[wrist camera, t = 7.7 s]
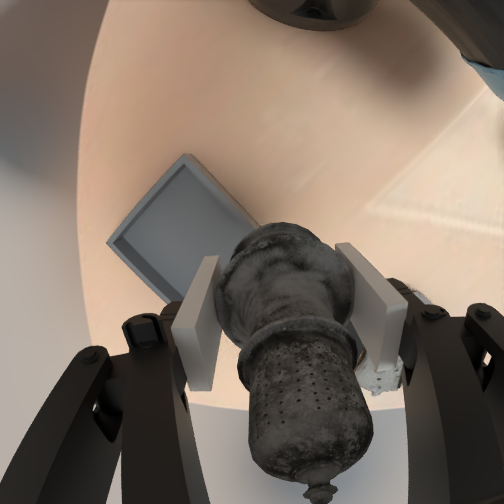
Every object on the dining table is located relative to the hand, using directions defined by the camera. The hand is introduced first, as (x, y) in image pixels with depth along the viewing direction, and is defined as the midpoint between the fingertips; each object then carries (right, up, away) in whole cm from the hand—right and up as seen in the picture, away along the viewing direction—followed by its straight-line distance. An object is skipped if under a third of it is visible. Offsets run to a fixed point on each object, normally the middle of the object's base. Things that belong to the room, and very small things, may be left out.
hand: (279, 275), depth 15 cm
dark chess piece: (0, 0, +1) cm, 1 cm away
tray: (-8, +3, +15) cm, 17 cm away
